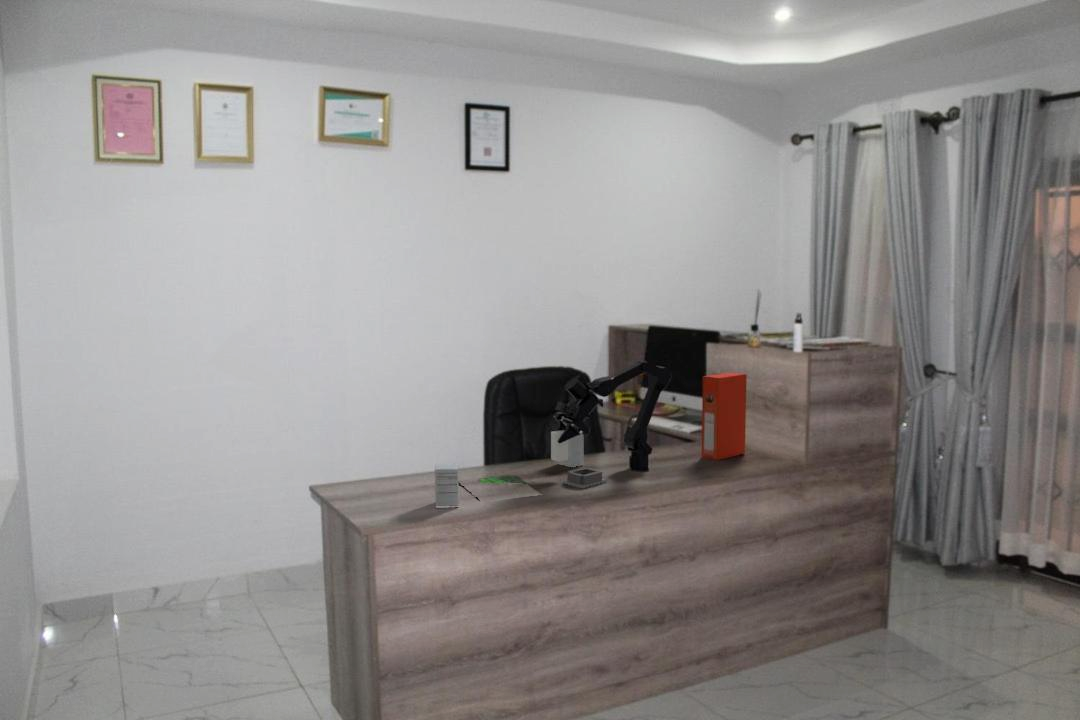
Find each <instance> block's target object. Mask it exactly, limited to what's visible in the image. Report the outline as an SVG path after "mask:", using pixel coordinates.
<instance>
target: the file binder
mask: <svg viewBox="0 0 1080 720" xmlns="http://www.w3.org/2000/svg"><path fill="white" fill-rule="evenodd" d="M701 403H702V406H701V412H702V413H701V421H702V422H701V458H703V459H707V460H708V459H709V460H714V461H720V460H725V459H727V458H732V457H735V456H740V454H741V455H744V454H745V453H746V425H747V424H746V418H747V416H746V415H747V414H746V412H747V374H746V373H740V372H739V373H738V372H725V373H720V374H719V373H717V374H713V375H712V374H711V375H704V376H702V401H701Z"/></svg>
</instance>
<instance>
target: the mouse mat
mask: <svg viewBox="0 0 1080 720" xmlns="http://www.w3.org/2000/svg"><path fill="white" fill-rule="evenodd" d="M478 479H479V480H478V482H480V483H481V482H483V483H508V482H510V483H522V484H528V483H527V482H526V481H524V480H523V479H522V478H520V476H517V475H504V476H494V477H483V478H478ZM528 485H529V486H531V485H530V484H528Z"/></svg>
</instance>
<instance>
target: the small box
mask: <svg viewBox="0 0 1080 720" xmlns="http://www.w3.org/2000/svg"><path fill="white" fill-rule="evenodd" d="M584 436H585V435H583V434H582V431H580V435H578V436H575V437H573V438H571V439H569V440H568V460H564V461H557V465H561V466H563V465H564V467H567V468H570V467H571V468H572V467H573V468H577V467H576V466H578V467H581V465H582V466H584V465H585V463H584V461H585V460H584V458H585V454H584V453H585V452H584V450H585V449H584V448H585V447H584V444H585V443H584ZM571 468H570V469H571Z"/></svg>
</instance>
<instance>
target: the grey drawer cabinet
mask: <svg viewBox="0 0 1080 720" xmlns="http://www.w3.org/2000/svg"><path fill="white" fill-rule="evenodd" d="M459 481H460V480H459V463H435V465H434V491H435V493H434V494H435V507H436V506H458V505H459V506H460V496H459V495H460V490H459V489H460V487H459V486H460V484H459Z"/></svg>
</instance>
